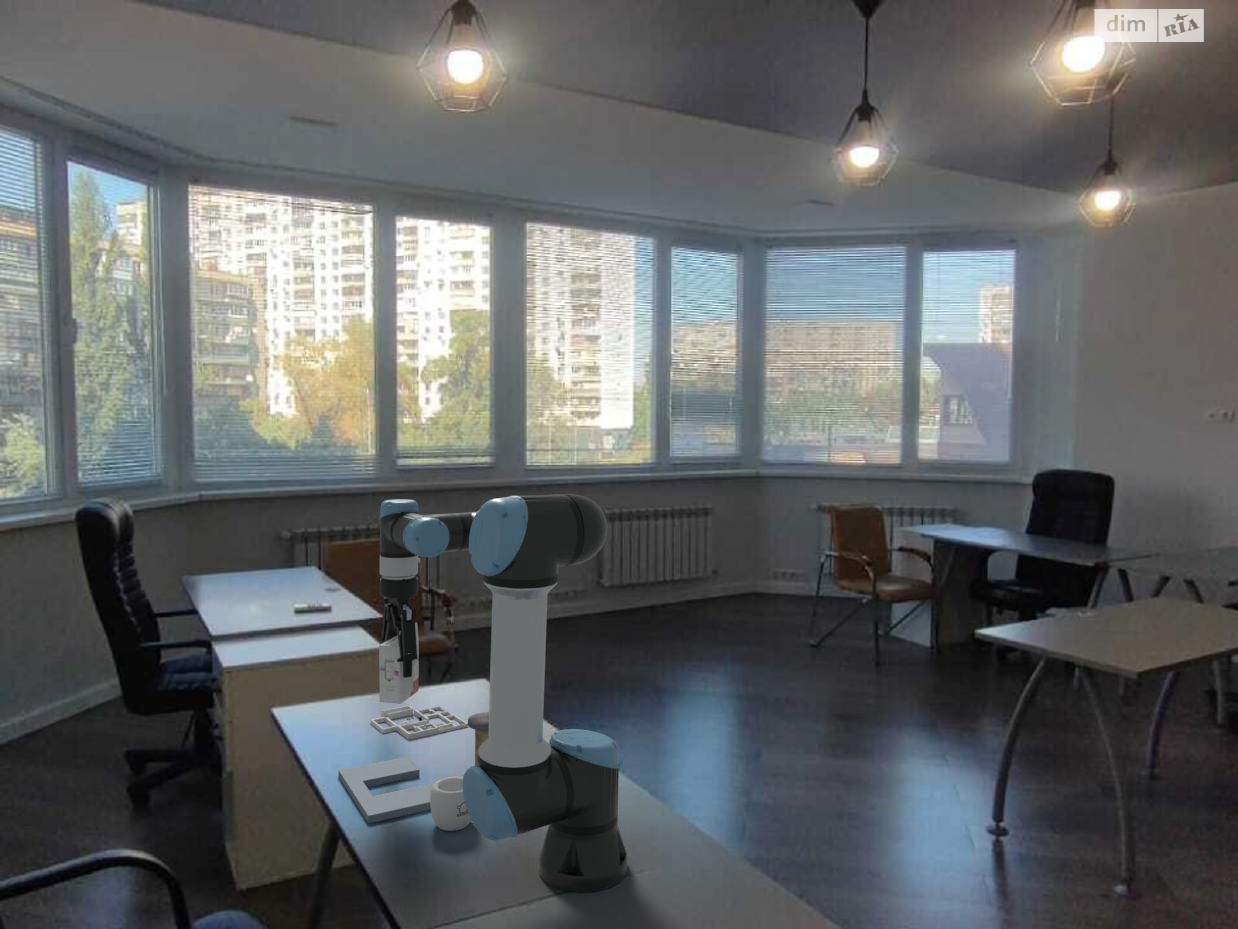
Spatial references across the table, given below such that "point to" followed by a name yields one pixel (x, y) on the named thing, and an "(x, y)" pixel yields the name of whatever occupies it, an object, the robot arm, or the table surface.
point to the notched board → (389, 802)
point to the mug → (449, 804)
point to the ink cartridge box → (395, 671)
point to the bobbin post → (479, 730)
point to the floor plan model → (417, 726)
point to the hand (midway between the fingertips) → (398, 685)
